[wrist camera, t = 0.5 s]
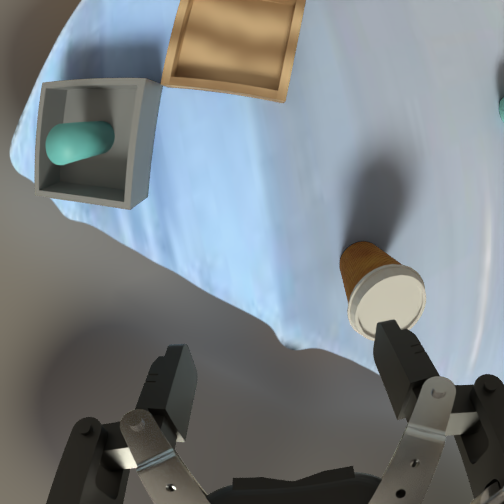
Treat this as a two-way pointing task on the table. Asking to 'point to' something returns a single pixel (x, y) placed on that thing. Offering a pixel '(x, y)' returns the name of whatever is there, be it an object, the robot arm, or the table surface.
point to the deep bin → (122, 151)
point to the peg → (78, 141)
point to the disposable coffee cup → (380, 289)
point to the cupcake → (501, 109)
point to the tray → (234, 47)
